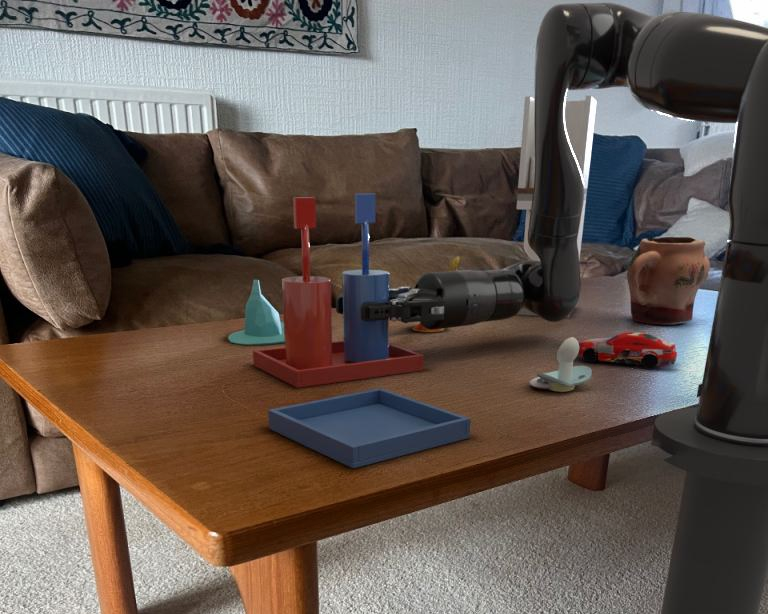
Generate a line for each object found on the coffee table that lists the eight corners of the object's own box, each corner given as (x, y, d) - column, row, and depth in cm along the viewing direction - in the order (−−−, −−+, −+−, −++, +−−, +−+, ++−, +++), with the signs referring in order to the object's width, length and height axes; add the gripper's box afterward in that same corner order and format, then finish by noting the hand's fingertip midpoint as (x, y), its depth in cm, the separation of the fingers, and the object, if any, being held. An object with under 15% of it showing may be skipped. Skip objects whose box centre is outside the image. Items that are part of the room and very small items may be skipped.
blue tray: (379, 405, 86) (380, 387, 86) (469, 438, 76) (470, 418, 75) (268, 428, 78) (267, 409, 77) (353, 468, 68) (352, 447, 67)
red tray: (371, 351, 112) (371, 337, 111) (423, 370, 102) (424, 355, 101) (253, 365, 103) (252, 350, 102) (297, 388, 93) (296, 371, 92)
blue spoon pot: (374, 351, 108) (373, 192, 100) (397, 359, 103) (398, 193, 95) (335, 356, 105) (332, 193, 97) (357, 365, 100) (355, 194, 92)
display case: (518, 304, 152) (534, 101, 138) (574, 308, 149) (596, 101, 135) (508, 313, 142) (524, 96, 128) (567, 317, 139) (591, 95, 125)
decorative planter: (665, 335, 125) (679, 244, 119) (596, 325, 132) (607, 238, 127) (715, 320, 138) (729, 237, 133) (650, 311, 146) (661, 232, 140)
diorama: (346, 327, 128) (346, 273, 125) (270, 349, 112) (267, 287, 109) (287, 319, 134) (285, 267, 130) (206, 339, 118) (202, 280, 115)
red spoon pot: (319, 360, 104) (315, 196, 96) (340, 370, 99) (338, 198, 91) (277, 365, 101) (270, 196, 93) (298, 375, 96) (292, 198, 88)
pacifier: (517, 387, 95) (555, 397, 90) (520, 335, 92) (559, 342, 88) (559, 379, 99) (596, 388, 94) (563, 329, 96) (602, 335, 92)
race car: (571, 361, 107) (574, 332, 106) (580, 354, 112) (583, 325, 110) (671, 372, 102) (676, 341, 100) (676, 363, 107) (681, 334, 105)
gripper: (426, 265, 112) (322, 272, 104) (489, 276, 101) (378, 285, 93) (425, 318, 115) (324, 329, 107) (486, 335, 104) (378, 348, 96)
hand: (349, 309), depth 100 cm, fingers closed on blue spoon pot, 6 cm apart
